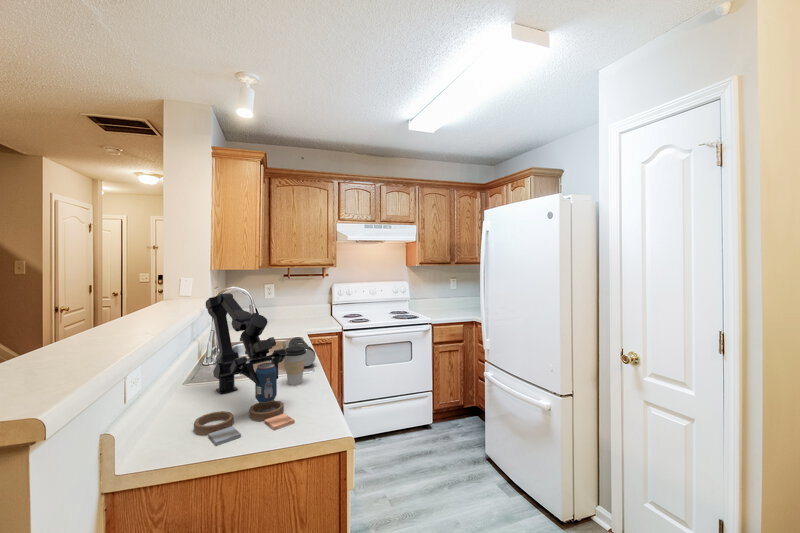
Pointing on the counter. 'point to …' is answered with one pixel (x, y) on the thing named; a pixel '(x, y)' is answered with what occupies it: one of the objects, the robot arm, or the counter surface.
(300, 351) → the coffee cup
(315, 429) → the counter surface
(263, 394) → the soda can
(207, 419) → the grey tag ring
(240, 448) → the counter surface
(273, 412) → the terracotta tag ring
